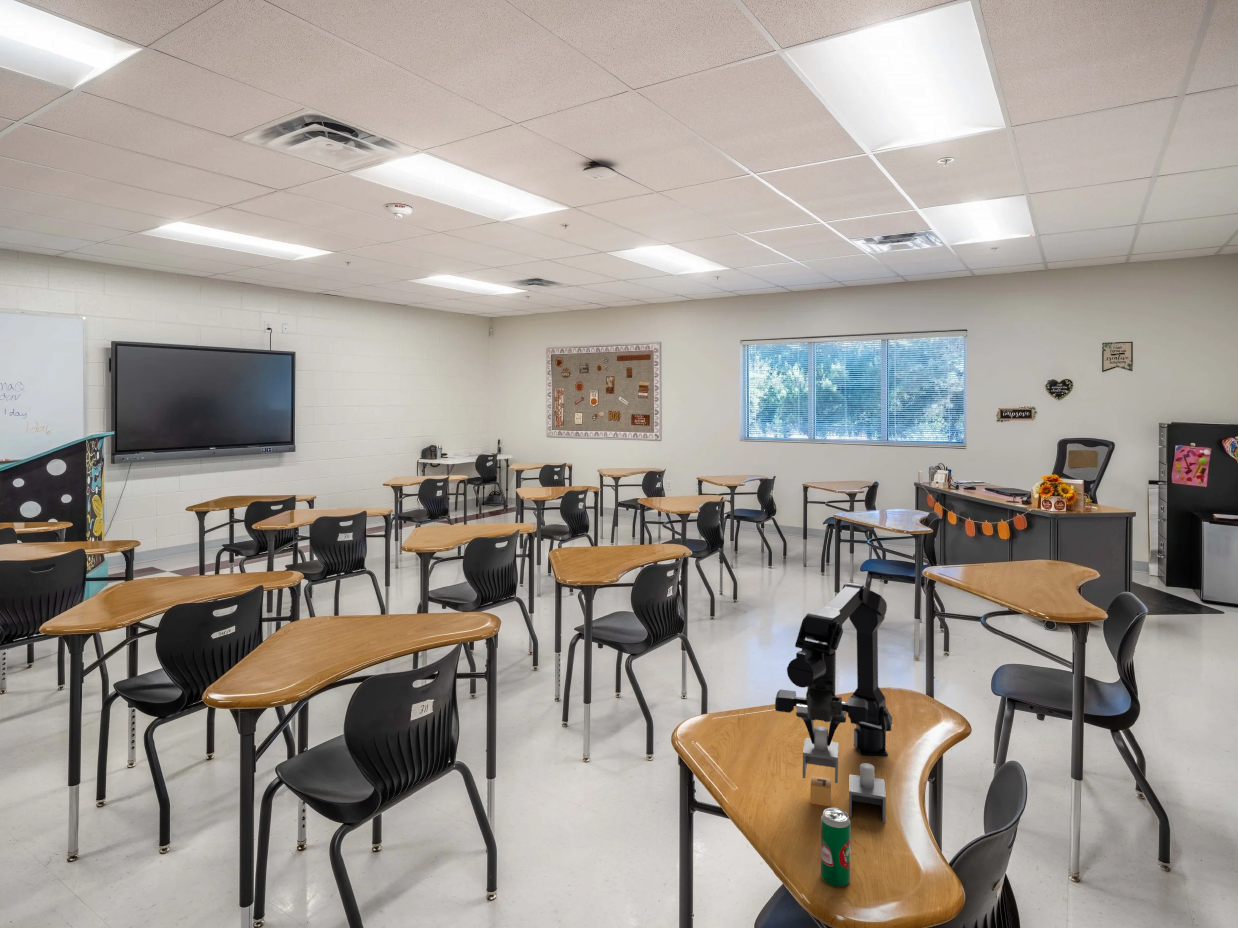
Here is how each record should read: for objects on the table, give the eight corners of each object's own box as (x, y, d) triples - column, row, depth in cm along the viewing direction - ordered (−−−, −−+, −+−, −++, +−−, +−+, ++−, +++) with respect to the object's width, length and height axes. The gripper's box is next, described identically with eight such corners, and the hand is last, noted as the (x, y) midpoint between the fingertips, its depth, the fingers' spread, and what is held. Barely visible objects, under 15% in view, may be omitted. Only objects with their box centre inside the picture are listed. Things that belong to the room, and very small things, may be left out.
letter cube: (830, 796, 148) (831, 778, 147) (830, 806, 144) (830, 787, 144) (811, 793, 149) (811, 775, 149) (810, 803, 145) (810, 784, 145)
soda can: (816, 870, 124) (816, 806, 123) (843, 868, 124) (843, 805, 123) (826, 889, 118) (827, 823, 118) (855, 887, 119) (855, 821, 118)
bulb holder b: (838, 766, 148) (838, 724, 148) (837, 783, 142) (837, 738, 141) (804, 761, 150) (805, 720, 150) (802, 777, 144) (802, 734, 143)
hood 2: (884, 804, 144) (884, 760, 144) (885, 822, 138) (886, 777, 137) (849, 798, 147) (849, 755, 146) (848, 816, 140) (849, 772, 139)
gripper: (772, 681, 140) (772, 755, 141) (868, 692, 134) (868, 769, 135) (778, 663, 151) (777, 731, 152) (867, 672, 145) (867, 743, 146)
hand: (820, 743), depth 146 cm, fingers closed on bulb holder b, 3 cm apart
